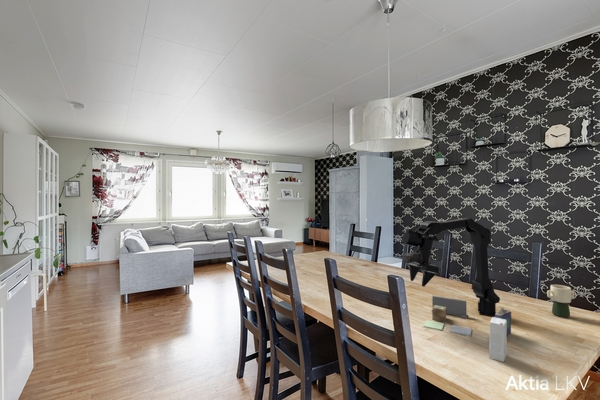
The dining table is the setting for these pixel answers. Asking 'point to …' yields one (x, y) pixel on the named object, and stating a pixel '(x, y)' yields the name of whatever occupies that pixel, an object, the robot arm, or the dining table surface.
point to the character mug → (560, 299)
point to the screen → (451, 305)
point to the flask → (507, 316)
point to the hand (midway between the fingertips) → (417, 283)
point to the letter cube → (439, 313)
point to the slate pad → (461, 330)
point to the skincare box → (498, 339)
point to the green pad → (433, 325)
